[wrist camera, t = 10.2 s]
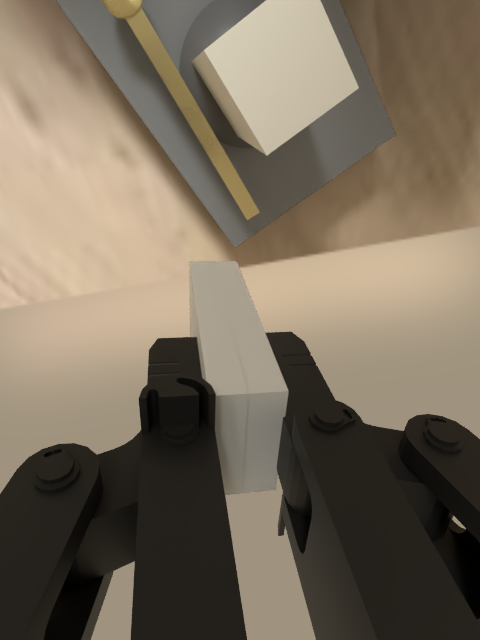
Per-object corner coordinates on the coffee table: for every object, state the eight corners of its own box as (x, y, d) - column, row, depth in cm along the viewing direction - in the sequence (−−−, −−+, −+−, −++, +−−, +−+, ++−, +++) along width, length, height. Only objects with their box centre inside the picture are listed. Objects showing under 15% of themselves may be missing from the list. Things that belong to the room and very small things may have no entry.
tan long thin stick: (92, -14, 23) (89, -20, 22) (126, -40, 23) (124, -47, 21) (237, 219, 30) (240, 225, 29) (263, 202, 30) (267, 207, 29)
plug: (152, 56, 29) (144, 35, 17) (255, -28, 27) (323, -113, 16) (223, 164, 33) (256, 206, 21) (315, 95, 31) (406, 99, 20)
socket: (69, 12, 27) (51, -3, 23) (249, -145, 25) (267, -194, 21) (227, 232, 36) (236, 252, 31) (372, 129, 34) (403, 135, 29)
